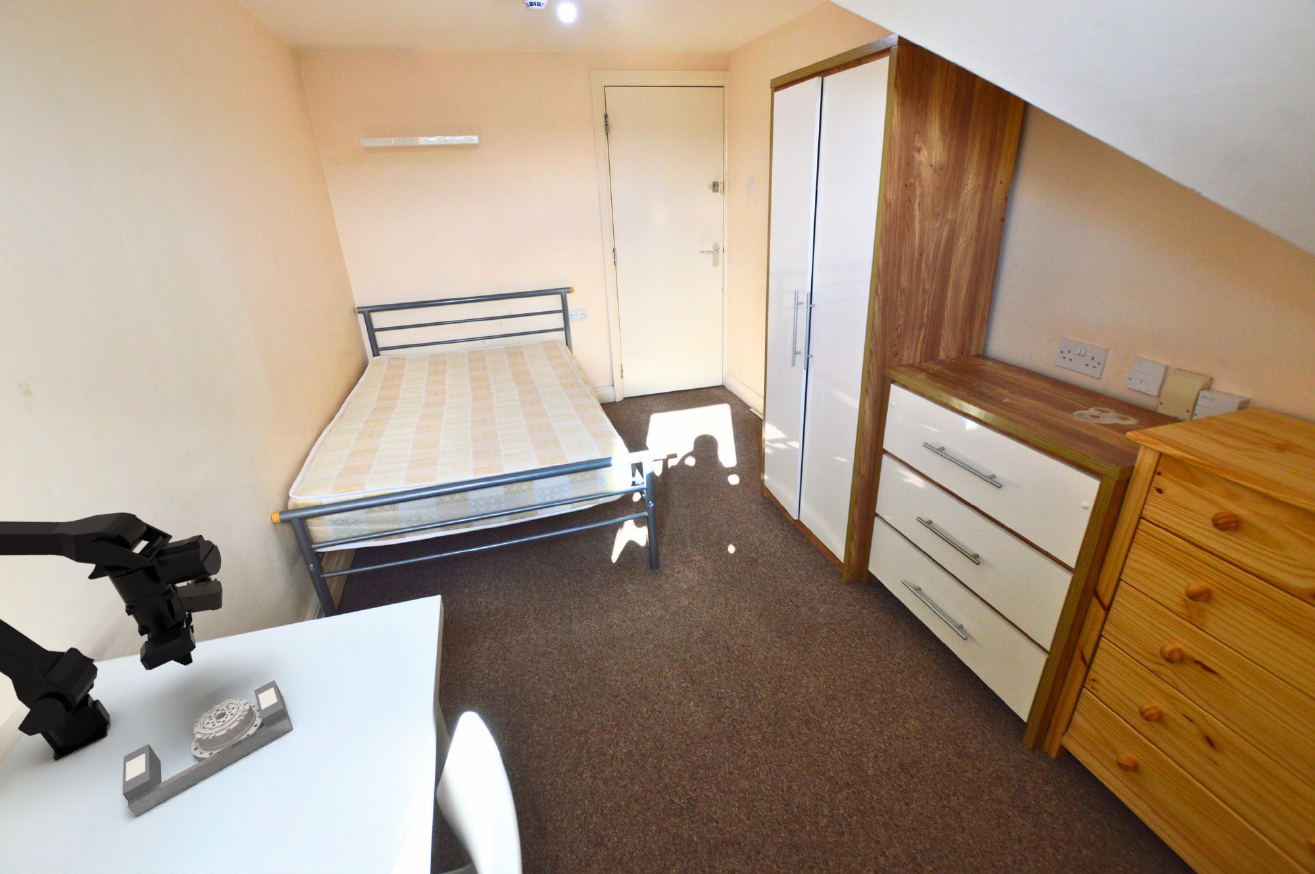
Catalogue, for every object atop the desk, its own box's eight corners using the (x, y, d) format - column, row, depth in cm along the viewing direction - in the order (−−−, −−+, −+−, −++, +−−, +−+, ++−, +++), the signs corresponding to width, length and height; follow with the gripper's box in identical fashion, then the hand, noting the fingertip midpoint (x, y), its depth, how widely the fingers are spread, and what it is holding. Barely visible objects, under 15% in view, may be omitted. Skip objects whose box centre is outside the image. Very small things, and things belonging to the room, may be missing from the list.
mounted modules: (135, 811, 82) (121, 793, 80) (136, 773, 87) (123, 755, 86) (291, 725, 93) (282, 707, 91) (282, 696, 99) (273, 678, 97)
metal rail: (135, 817, 81) (127, 805, 80) (135, 811, 82) (127, 800, 81) (292, 729, 92) (287, 718, 91) (291, 725, 93) (286, 714, 92)
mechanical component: (179, 767, 88) (244, 759, 88) (166, 747, 86) (233, 739, 86) (220, 712, 97) (279, 705, 97) (209, 693, 95) (269, 686, 96)
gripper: (212, 591, 87) (252, 666, 94) (202, 543, 101) (238, 612, 107) (118, 629, 81) (168, 707, 87) (121, 573, 94) (164, 644, 101)
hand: (189, 663), depth 96 cm, fingers closed
